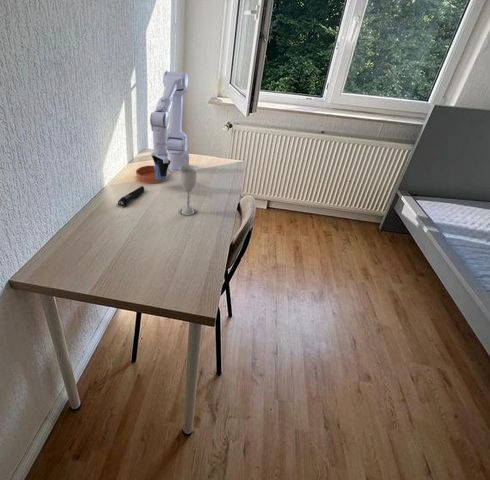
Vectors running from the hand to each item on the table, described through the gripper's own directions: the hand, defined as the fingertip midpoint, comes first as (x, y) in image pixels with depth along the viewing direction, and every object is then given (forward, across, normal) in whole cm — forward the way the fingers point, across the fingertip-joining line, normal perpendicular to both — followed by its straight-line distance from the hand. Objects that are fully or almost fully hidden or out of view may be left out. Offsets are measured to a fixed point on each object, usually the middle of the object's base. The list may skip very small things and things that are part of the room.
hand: (161, 173), depth 150 cm
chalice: (+7, +24, +3) cm, 25 cm away
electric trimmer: (+7, +6, -15) cm, 18 cm away
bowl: (+7, -12, -1) cm, 14 cm away
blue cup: (+2, 0, 0) cm, 2 cm away
